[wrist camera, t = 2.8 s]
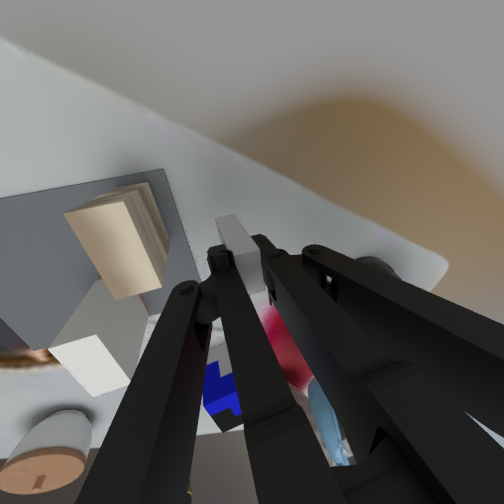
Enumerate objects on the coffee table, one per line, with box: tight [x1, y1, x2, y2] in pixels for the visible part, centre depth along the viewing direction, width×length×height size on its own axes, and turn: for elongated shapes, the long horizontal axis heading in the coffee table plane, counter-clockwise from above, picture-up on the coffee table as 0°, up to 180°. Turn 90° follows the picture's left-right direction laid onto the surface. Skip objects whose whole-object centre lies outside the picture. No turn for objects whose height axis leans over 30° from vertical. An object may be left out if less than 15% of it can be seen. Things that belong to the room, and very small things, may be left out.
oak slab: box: [63, 181, 171, 300], centre depth 22 cm, size 4×8×12 cm, turn 9°
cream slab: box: [48, 277, 149, 397], centre depth 26 cm, size 4×8×12 cm, turn 9°
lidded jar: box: [0, 409, 92, 494], centre depth 35 cm, size 11×11×9 cm
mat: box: [0, 169, 201, 351], centre depth 28 cm, size 26×21×1 cm
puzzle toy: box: [202, 342, 243, 433], centre depth 40 cm, size 10×10×10 cm
